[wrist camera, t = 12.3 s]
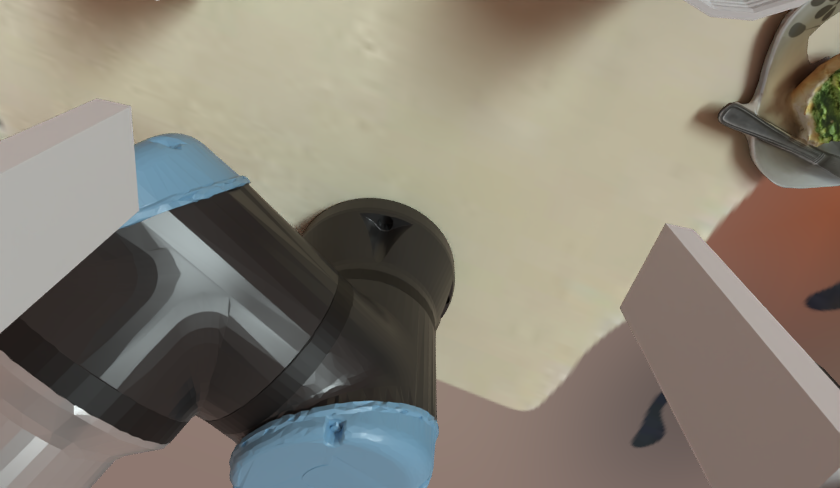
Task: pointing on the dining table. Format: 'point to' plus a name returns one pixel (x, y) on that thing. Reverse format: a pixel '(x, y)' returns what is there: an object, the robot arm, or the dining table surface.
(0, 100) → the dining table surface
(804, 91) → the salad plate
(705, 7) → the plastic cup
